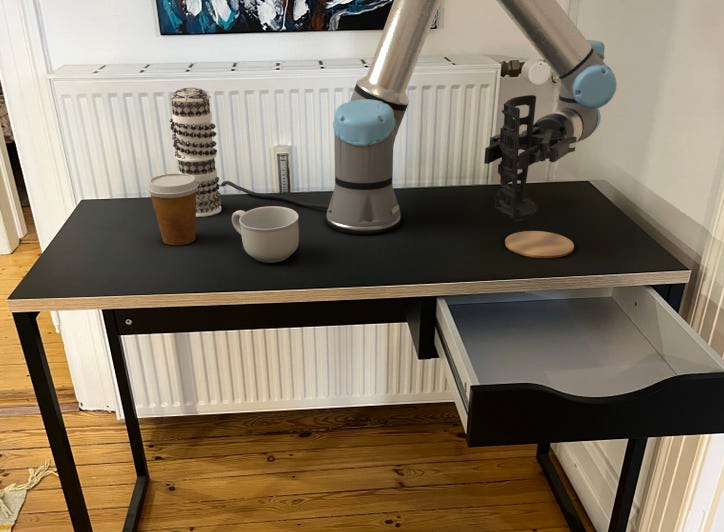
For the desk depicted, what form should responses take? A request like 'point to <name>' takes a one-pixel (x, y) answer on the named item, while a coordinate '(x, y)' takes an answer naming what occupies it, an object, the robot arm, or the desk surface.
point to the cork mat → (539, 244)
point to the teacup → (268, 232)
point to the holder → (515, 158)
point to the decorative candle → (196, 146)
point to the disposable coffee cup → (175, 206)
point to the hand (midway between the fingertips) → (503, 158)
